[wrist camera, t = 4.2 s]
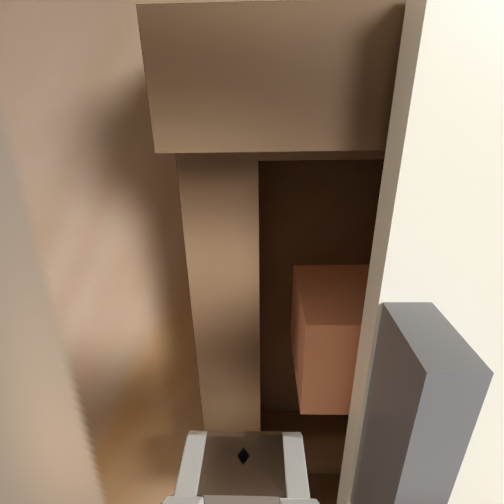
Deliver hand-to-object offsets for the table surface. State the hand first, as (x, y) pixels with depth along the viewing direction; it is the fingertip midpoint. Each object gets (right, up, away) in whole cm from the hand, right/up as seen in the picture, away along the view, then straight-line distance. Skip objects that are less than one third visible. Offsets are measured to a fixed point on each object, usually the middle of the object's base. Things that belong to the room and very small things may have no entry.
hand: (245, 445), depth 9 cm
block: (+4, +3, +7) cm, 8 cm away
